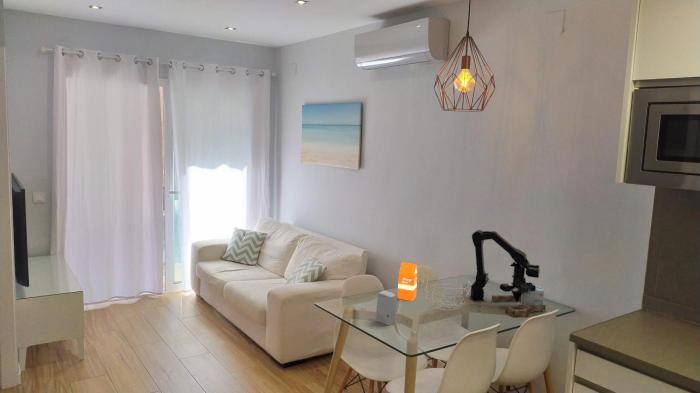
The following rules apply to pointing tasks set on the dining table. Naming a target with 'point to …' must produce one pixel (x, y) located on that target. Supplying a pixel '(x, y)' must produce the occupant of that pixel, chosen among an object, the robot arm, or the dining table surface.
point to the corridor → (523, 309)
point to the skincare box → (386, 307)
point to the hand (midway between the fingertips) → (516, 302)
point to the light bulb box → (533, 297)
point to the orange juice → (407, 281)
